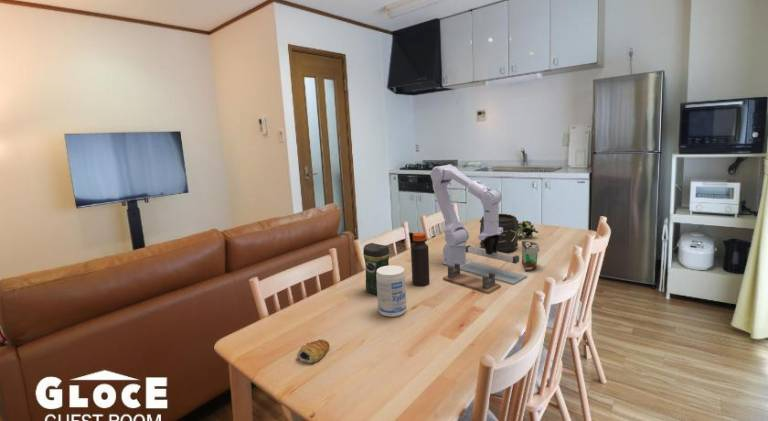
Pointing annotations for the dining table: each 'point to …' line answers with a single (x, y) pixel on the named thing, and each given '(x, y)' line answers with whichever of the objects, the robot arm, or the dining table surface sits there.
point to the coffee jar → (374, 263)
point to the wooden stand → (472, 280)
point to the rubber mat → (499, 273)
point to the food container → (529, 255)
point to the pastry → (313, 351)
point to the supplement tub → (391, 290)
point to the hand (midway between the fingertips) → (491, 253)
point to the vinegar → (420, 260)
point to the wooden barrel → (505, 233)
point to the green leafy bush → (526, 229)
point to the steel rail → (493, 254)
